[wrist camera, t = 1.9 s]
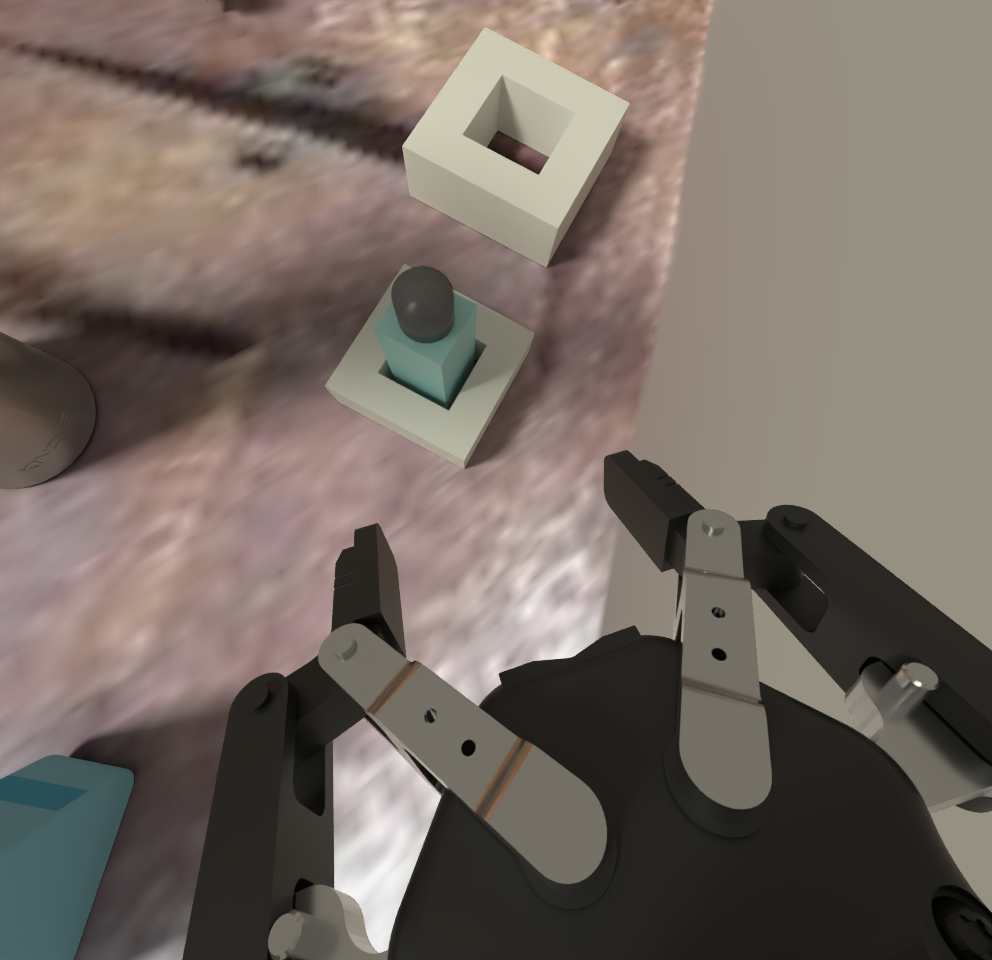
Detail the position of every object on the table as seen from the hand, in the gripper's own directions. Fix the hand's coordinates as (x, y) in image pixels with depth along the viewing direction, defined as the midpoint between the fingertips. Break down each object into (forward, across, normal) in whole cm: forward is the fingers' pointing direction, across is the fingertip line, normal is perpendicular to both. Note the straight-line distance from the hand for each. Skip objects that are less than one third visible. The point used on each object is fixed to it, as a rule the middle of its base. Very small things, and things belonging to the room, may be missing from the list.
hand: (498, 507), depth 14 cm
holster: (+18, 0, +2) cm, 18 cm away
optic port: (+29, -11, -8) cm, 32 cm away
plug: (+18, 0, +2) cm, 18 cm away
